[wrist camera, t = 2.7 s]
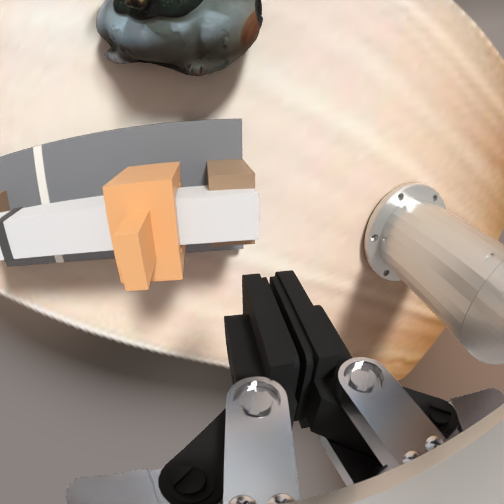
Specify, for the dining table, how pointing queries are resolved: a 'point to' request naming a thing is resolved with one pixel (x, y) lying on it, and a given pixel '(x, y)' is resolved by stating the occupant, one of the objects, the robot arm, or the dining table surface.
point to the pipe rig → (110, 165)
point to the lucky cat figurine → (179, 32)
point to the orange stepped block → (145, 224)
